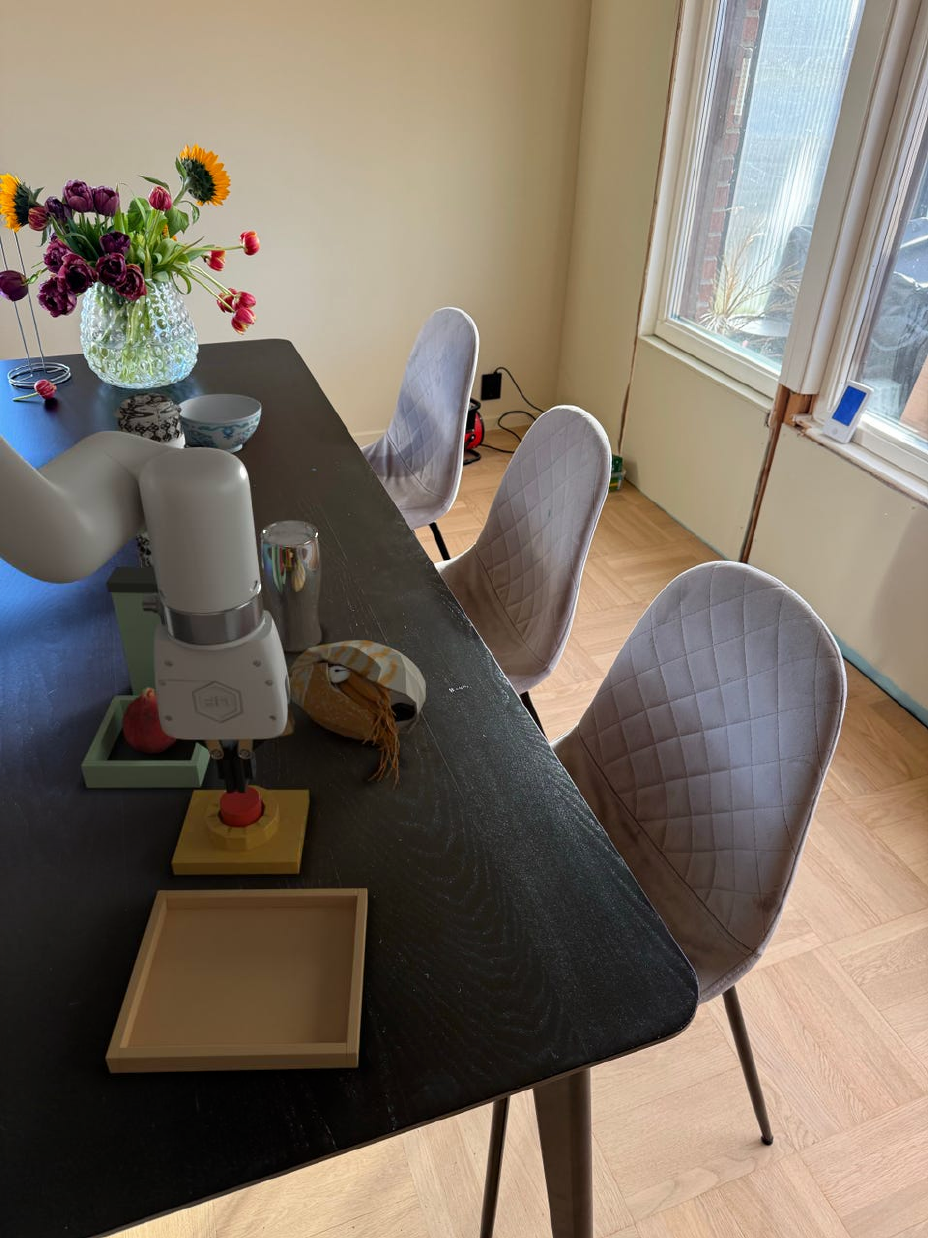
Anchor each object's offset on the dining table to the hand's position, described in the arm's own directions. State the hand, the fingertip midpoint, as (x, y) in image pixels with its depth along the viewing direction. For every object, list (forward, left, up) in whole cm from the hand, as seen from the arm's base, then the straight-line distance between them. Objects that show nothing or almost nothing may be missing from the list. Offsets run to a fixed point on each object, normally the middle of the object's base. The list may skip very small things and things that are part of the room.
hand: (239, 782), depth 76 cm
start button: (0, 0, -4) cm, 4 cm away
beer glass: (+1, +33, -7) cm, 34 cm away
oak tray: (+3, -15, -7) cm, 17 cm away
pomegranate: (-11, +12, -7) cm, 18 cm away
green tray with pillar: (-11, +15, -7) cm, 20 cm away
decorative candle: (-18, +49, -7) cm, 53 cm away
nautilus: (+10, +15, -7) cm, 19 cm away
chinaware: (-20, +96, -7) cm, 98 cm away
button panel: (0, 0, -7) cm, 7 cm away
